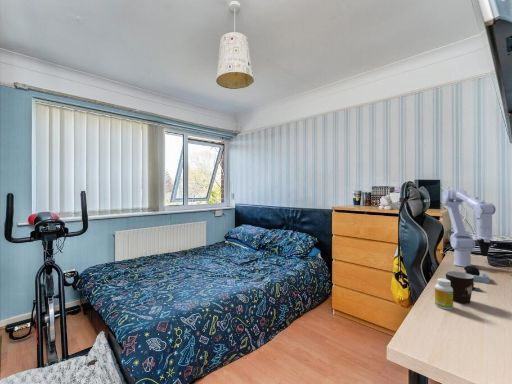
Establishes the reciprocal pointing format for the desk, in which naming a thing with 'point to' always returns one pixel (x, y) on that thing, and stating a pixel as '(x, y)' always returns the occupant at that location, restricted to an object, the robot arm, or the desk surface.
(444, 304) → the supplement bottle
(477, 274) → the billiard ball
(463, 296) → the coffee mug
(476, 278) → the corral
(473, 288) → the build plate
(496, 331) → the desk surface
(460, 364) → the desk surface
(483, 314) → the desk surface
